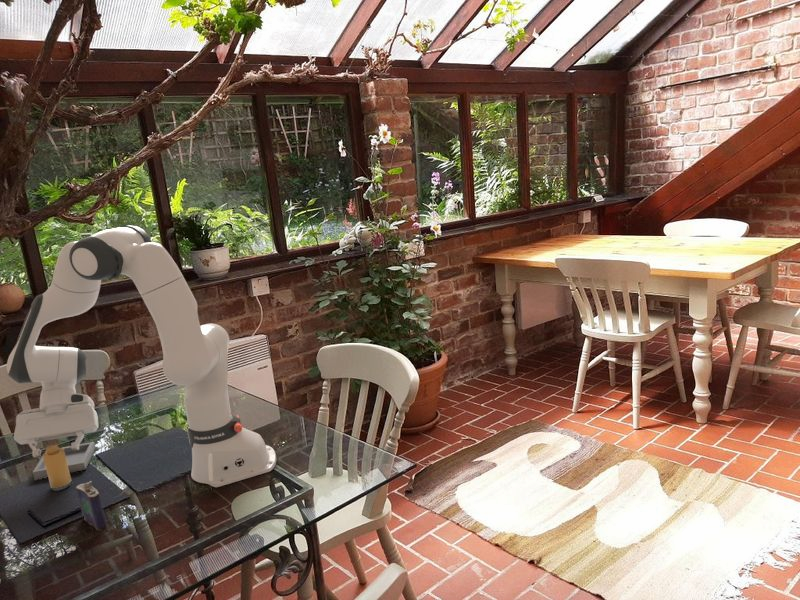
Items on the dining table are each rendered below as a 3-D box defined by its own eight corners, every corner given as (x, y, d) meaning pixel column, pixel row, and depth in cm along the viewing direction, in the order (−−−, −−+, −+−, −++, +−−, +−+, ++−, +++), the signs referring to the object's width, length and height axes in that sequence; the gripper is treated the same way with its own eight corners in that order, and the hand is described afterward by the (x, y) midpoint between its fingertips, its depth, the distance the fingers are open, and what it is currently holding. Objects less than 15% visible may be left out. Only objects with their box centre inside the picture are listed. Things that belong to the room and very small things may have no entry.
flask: (81, 519, 146) (72, 479, 143) (93, 512, 148) (84, 474, 145) (99, 532, 140) (89, 491, 138) (111, 525, 142) (102, 485, 140)
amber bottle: (74, 479, 165) (64, 440, 162) (69, 489, 160) (59, 449, 157) (54, 483, 164) (44, 444, 161) (48, 493, 159) (38, 452, 156)
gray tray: (95, 449, 181) (94, 441, 181) (85, 470, 169) (83, 462, 168) (48, 457, 178) (46, 450, 178) (34, 480, 166) (32, 472, 165)
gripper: (11, 407, 163) (7, 457, 156) (93, 394, 168) (93, 442, 161) (21, 415, 168) (17, 464, 162) (100, 402, 173) (100, 449, 166)
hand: (56, 453), depth 161 cm, fingers open, 8 cm apart
